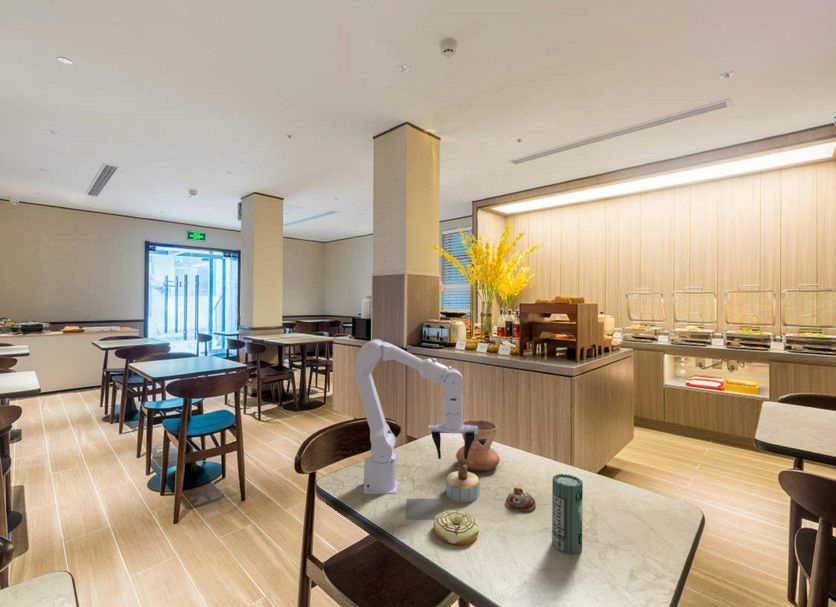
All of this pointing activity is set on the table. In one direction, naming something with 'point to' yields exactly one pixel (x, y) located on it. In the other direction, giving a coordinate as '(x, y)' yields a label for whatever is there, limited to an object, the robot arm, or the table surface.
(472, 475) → the bamboo lid
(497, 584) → the table surface
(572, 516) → the can
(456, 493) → the bowl
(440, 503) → the rubber mat
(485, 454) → the ceramic jug
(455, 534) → the decorated donut
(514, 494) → the pastry
